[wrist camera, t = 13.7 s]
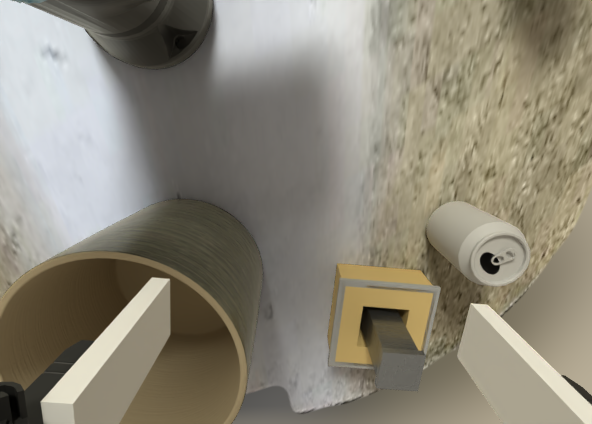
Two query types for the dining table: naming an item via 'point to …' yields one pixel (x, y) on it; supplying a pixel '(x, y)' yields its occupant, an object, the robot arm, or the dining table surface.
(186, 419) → the planter
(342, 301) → the tan hollow block
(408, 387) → the wedge pin
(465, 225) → the can
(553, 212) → the dining table surface
